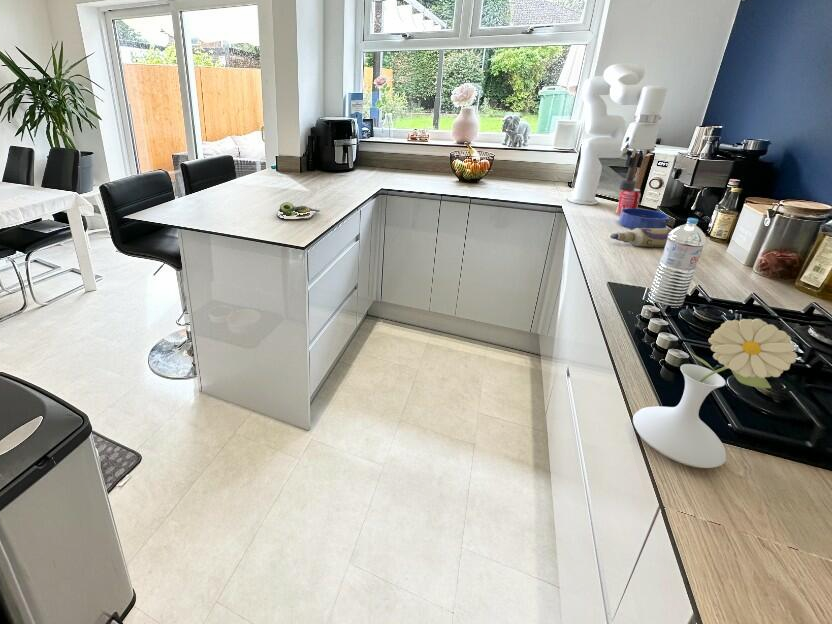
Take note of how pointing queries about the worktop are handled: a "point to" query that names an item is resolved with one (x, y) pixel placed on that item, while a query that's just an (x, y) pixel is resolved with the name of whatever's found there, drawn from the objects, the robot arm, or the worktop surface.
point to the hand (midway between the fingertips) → (632, 166)
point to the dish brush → (630, 176)
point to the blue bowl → (643, 218)
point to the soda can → (628, 200)
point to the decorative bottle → (644, 237)
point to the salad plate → (289, 208)
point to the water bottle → (677, 265)
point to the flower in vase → (750, 363)
